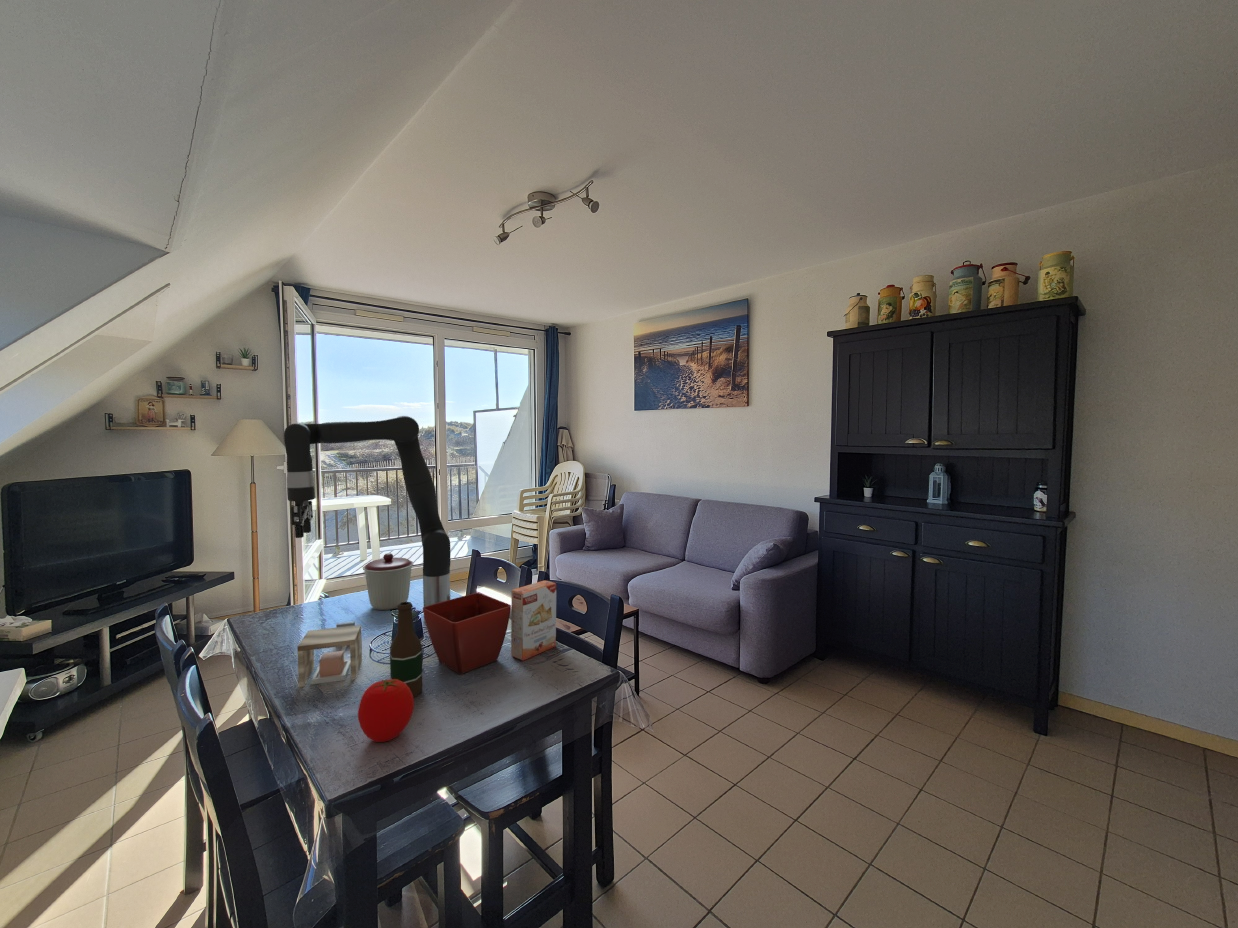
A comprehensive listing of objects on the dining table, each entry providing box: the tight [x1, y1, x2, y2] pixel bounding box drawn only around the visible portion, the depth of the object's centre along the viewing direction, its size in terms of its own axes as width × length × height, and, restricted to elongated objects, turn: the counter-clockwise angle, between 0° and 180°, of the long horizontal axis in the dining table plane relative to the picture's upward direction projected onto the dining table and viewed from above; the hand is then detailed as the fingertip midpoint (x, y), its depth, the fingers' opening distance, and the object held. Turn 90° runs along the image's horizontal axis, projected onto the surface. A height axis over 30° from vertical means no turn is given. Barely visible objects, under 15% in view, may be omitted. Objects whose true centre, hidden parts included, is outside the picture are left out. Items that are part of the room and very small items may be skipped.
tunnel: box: [296, 624, 363, 688], centre depth 137 cm, size 11×13×12 cm
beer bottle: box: [389, 601, 423, 698], centre depth 130 cm, size 8×8×24 cm
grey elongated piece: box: [310, 621, 356, 685], centre depth 145 cm, size 27×8×8 cm, turn 20°
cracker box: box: [510, 580, 557, 662], centre depth 155 cm, size 14×6×21 cm, turn 141°
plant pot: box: [422, 592, 511, 675], centre depth 148 cm, size 19×19×17 cm
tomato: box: [357, 678, 415, 743], centre depth 111 cm, size 11×11×13 cm
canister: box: [362, 552, 414, 611], centre depth 196 cm, size 18×18×21 cm
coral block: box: [318, 650, 345, 677], centre depth 137 cm, size 5×5×5 cm
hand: (303, 535), depth 161 cm, fingers open, 8 cm apart
